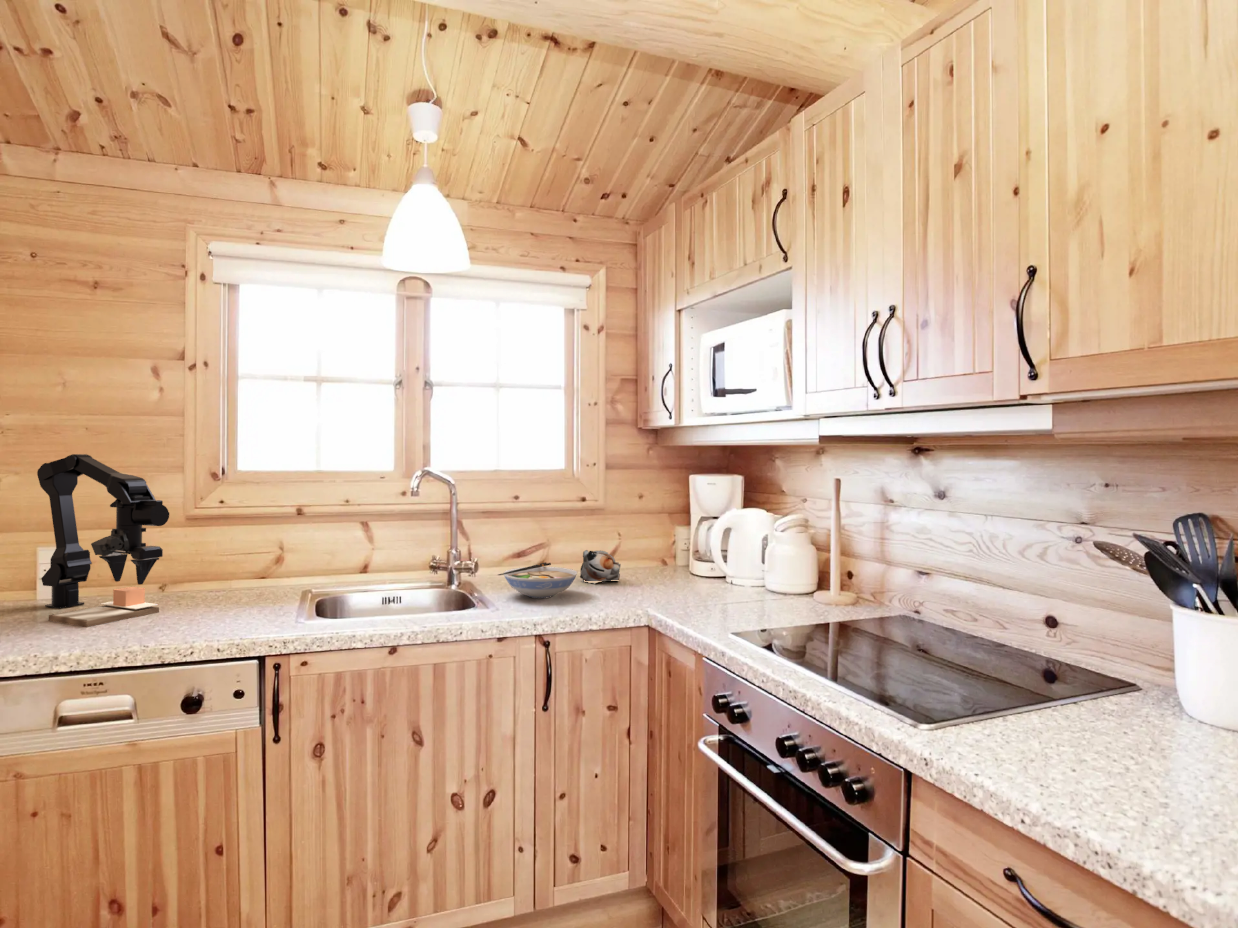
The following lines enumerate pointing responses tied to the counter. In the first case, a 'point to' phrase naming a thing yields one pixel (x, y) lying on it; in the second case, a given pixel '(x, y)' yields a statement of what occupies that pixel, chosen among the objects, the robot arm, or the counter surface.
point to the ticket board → (100, 615)
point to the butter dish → (129, 598)
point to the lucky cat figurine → (599, 566)
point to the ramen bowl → (540, 580)
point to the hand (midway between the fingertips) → (128, 582)
